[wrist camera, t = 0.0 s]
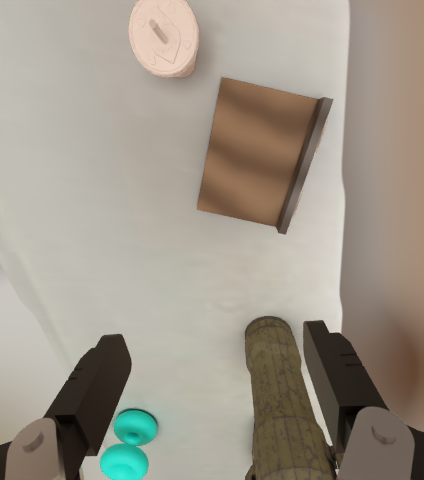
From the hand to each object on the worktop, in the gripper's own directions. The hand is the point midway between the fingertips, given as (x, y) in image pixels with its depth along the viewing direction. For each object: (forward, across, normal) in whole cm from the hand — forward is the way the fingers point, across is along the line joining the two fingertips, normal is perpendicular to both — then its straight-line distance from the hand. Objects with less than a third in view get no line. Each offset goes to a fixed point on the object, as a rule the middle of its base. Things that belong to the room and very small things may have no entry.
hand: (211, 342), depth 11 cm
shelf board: (+29, -5, -4) cm, 30 cm away
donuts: (+30, +27, +52) cm, 66 cm away
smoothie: (+30, +3, -17) cm, 34 cm away
